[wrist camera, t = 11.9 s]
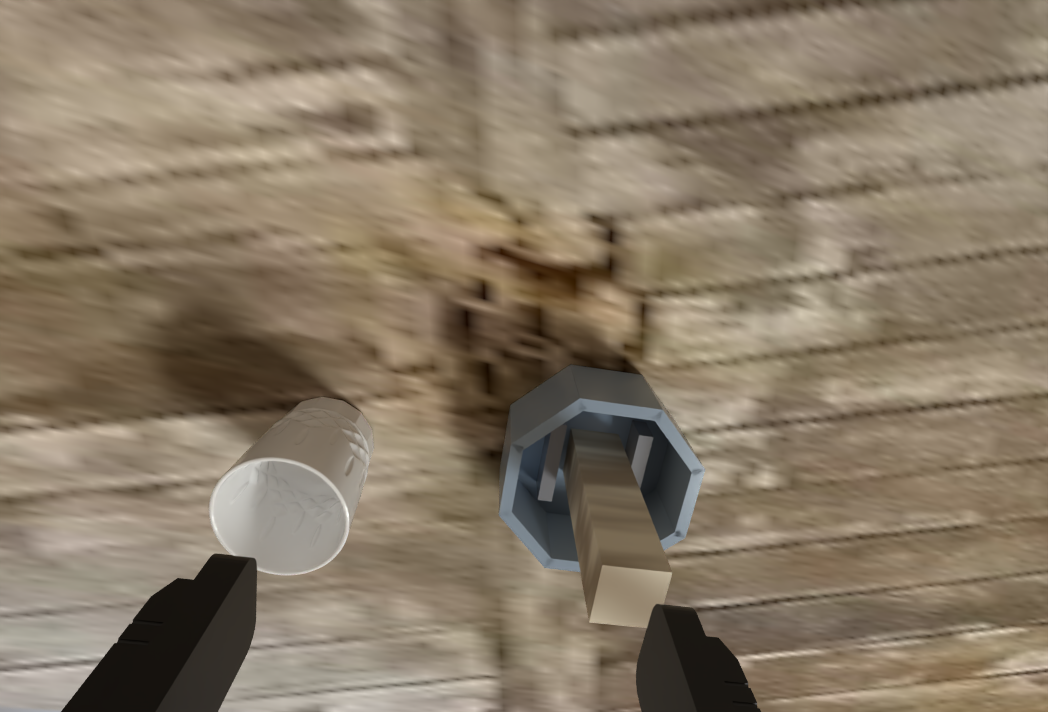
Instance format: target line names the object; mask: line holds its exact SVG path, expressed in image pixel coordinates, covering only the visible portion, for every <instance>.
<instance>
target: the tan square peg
mask: <svg viewBox="0 0 1048 712" xmlns="http://www.w3.org/2000/svg"><path fill="white" fill-rule="evenodd" d="M563 475H564V481H565V486H566V492H567V498H568V504H569V509H570V515H571V521H572V526H573V532H574V538H575V544H576V549H577V555H578V561H579V567H580V572H581V578H582V584H583V590H584V595H585V601H586V607H587V613H588V618H589V622H591V623H601V624H611V625H621V626H631V627H641V628H647V626H648V623H649V619H650V616H651V612H652V610H653V607H654V606H655V605H656V604H663V605H664V601H665V597H666V594H667V590H668V587H669V583H670V579H671V576H672V570H671V568H670V565H669V563H668V560H667V558H666V555H665V552H664V550H663V547H662V545H661V542H660V540H659V537H658V534H657V532H656V529H655V527H654V524H653V522H652V519H651V516H650V514H649V511H648V509H647V506H646V504H645V501H644V498H643V496H642V493H641V491H640V488H639V486H638V483H637V480H636V478H635V475H634V473H633V470H632V468H631V465H630V462H629V460H628V457H627V455H626V452H625V450H624V447H623V444H622V442H621V439H620V437H619V434H613V433H605V432H597V431H589V430H581V429H573V428H571V431H570V436H569V441H568V446H567V452H566V457H565V462H564V467H563Z"/></svg>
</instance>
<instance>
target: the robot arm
mask: <svg viewBox="0 0 1048 712" xmlns="http://www.w3.org/2000/svg"><path fill="white" fill-rule="evenodd" d="M256 591H257V562H256V559H255V558H252V557H243V556H234V555H225V554H213V555H212V556H211V557H210V558H209V559H208V561H207V562H206V564H205V565H204V566H203V568H202V569H201V571H200V572H199V573H198V575H197V576H196V578H195V579H194V580H190V579H181V578H177V579H176V580H174V581H173V582H171V583H170V584H169V585H167V586H166V587H164V588H163V589H161V590H160V591H158V592H157V593H155V594H154V595H153V596H151V597H150V599H149V600H148V601H147V602H146V604H145V605H144V606H143V608H142V609H141V610H140V611H139V613H138V614H137V615H136V616H135V618H134V619H133V623H132V624H129V625H128V627H127V628H126V629H125V631H124V632H123V633H122V634H121V636H120V637H119V638H118V642H117V643H114V645H113V646H112V647H111V648H110V650H109V651H108V652H107V654H106V655H105V656H104V657H103V659H102V660H101V661H100V663H99V664H98V665H97V666H96V668H95V669H94V670H93V672H92V673H91V674H90V675H89V677H88V678H87V679H86V680H85V682H84V683H83V684H82V686H81V687H80V688H79V689H78V691H77V692H76V693H75V695H74V696H73V697H72V698H71V700H70V701H69V702H68V703H67V705H66V706H65V707H64V709H63V710H62V711H61V712H218V710H219V708H220V706H221V704H222V702H223V700H224V698H225V696H226V694H227V692H228V690H229V688H230V686H231V684H232V682H233V681H234V679H235V677H236V675H237V673H238V671H239V669H240V667H241V665H242V663H243V661H244V659H245V657H246V655H247V653H248V650H249V648H250V645H251V642H252V638H253V634H254V630H255V624H256ZM636 686H637V694H638V698H639V703H640V707H641V711H642V712H761V711H760V709H759V708H757V702H756V699H755V697H754V695H753V693H752V691H751V688H748V682H747V679H746V677H745V675H744V673H743V670H742V668H741V666H740V664H739V662H738V659H737V658H736V657H735V656H734V655H733V654H732V653H731V651H730V650H729V649H728V648H727V647H726V646H725V645H724V643H723V642H722V641H721V640H720V639H719V638H717V637H707V636H706V635H705V633H704V630H703V628H702V625H701V623H700V620H699V618H698V615H697V613H696V611H695V610H694V609H693V608H690V607H681V606H672V605H663V604H656V605H655V606H654V607H653V610H652V612H651V616H650V619H649V623H648V626H647V630H646V633H645V637H644V640H643V644H642V647H641V651H640V654H639V658H638V662H637V669H636Z"/></svg>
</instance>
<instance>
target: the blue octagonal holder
mask: <svg viewBox="0 0 1048 712" xmlns="http://www.w3.org/2000/svg"><path fill="white" fill-rule="evenodd" d="M571 428H573V429H581V430H589V431H597V432H605V433H613V434H619V437H620V439H621V442H622V444H623V447H624V450H625V452H626V455H627V457H628V460H629V462H630V465H631V468H632V470H633V473H634V475H635V478H636V480H637V483H638V486H639V488H640V491H641V493H642V496H643V498H644V501H645V504H646V506H647V509H648V511H649V514H650V516H651V519H652V522H653V524H654V527H655V529H656V532H657V534H658V537H659V540H660V542H661V545H662V547H663V550H665V549H667V548H669V547H671V546H672V545H674V544H676V543H677V542H679V541H681V540H682V539H684V538H685V537H686V533H687V530H688V527H689V523H690V520H691V516H692V513H693V510H694V506H695V503H696V499H697V496H698V493H699V489H700V486H701V482H702V479H703V476H704V472H705V469H704V467H703V465H702V464H701V462H700V460H699V459H698V457H697V455H696V454H695V452H694V451H693V449H692V447H691V446H690V444H689V442H688V441H687V439H686V438H685V436H684V434H683V433H682V431H681V429H680V428H679V426H678V425H677V424H676V422H675V421H674V419H673V418H672V416H671V415H670V414H669V412H668V411H667V409H666V408H665V407H664V405H663V404H662V402H661V401H660V399H659V398H658V397H657V395H656V394H655V392H654V391H653V389H652V388H651V387H650V385H649V384H648V382H647V381H646V380H645V378H644V377H643V375H639V374H633V373H626V372H619V371H612V370H605V369H598V368H591V367H584V366H577V365H569V366H567V367H566V368H564V369H563V370H561V371H560V372H558V373H557V374H555V375H554V376H553V377H551V378H550V379H548V380H547V381H545V382H544V383H542V384H541V385H539V386H538V387H536V388H535V389H533V390H532V391H530V392H529V393H527V394H526V395H524V396H523V397H521V398H520V399H519V400H517V401H516V402H514V403H513V404H511V405H510V410H509V416H508V422H507V428H506V434H505V440H504V446H503V452H502V458H501V463H500V477H499V516H500V517H501V518H502V519H503V520H504V522H505V523H506V524H507V525H508V526H509V527H510V528H511V530H512V531H513V532H514V533H515V534H516V535H517V537H518V538H519V539H520V540H521V541H522V542H523V543H524V545H525V546H526V547H527V548H528V549H529V550H530V551H531V553H532V554H533V555H534V556H535V557H536V558H537V560H538V561H539V562H540V563H541V564H542V565H543V566H544V568H550V569H559V570H568V571H576V572H580V567H579V561H578V555H577V549H576V544H575V538H574V532H573V526H572V521H571V515H570V509H569V504H568V498H567V492H566V486H565V481H564V475H563V467H564V462H565V457H566V452H567V446H568V441H569V436H570V431H571Z"/></svg>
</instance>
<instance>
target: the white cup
mask: <svg viewBox="0 0 1048 712" xmlns="http://www.w3.org/2000/svg"><path fill="white" fill-rule="evenodd" d="M373 450H374V442H373V432H372V428H371V427H370V425H369V424H368V422H367V420H366V419H365V417H364V416H363V414H362V413H361V412H360V411H358V410H357V409H355V408H354V407H352V406H351V405H349V404H348V403H346V402H345V401H343V400H337V399H332V398H326V397H318V398H314V399H310V400H306V401H302V402H300V403H299V404H298V405H297V406H295V407H294V408H293V409H292V410H291V411H289V412H288V413H287V414H286V415H285V416H284V417H283V418H282V419H281V420H279V421H277V422H276V423H275V424H274V425H273V426H272V427H271V428H270V429H269V430H268V431H267V432H266V433H265V434H264V435H263V436H262V437H261V438H259V439H258V440H257V441H256V442H255V443H254V444H253V445H252V446H251V447H250V448H249V449H248V450H247V451H246V452H245V453H244V454H243V456H242V457H241V458H240V459H239V460H238V461H237V462H236V463H235V464H234V465H233V466H232V467H231V468H230V469H229V470H228V471H227V472H226V473H225V474H224V475H223V476H222V477H221V478H220V479H219V481H218V482H217V484H216V485H215V487H214V489H213V491H212V494H211V497H210V502H209V518H210V523H211V526H212V529H213V531H214V533H215V535H216V537H217V539H218V540H219V542H220V543H221V544H222V546H223V547H224V548H225V549H226V550H227V551H228V552H229V553H230V554H231V555H234V556H243V557H252V558H255V559H256V562H257V570H259V571H262V572H265V573H270V574H276V575H298V574H303V573H308V572H311V571H314V570H316V569H318V568H320V567H322V566H324V565H326V564H327V563H329V562H330V561H331V560H332V559H333V558H334V557H335V556H336V555H337V554H338V553H339V552H340V550H341V549H342V547H343V546H344V544H345V542H346V539H347V536H348V533H349V530H350V527H351V524H352V521H353V518H354V515H355V512H356V509H357V506H358V503H359V500H360V497H361V494H362V490H363V487H364V483H365V480H366V477H367V473H368V466H369V462H370V459H371V456H372V453H373Z"/></svg>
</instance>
